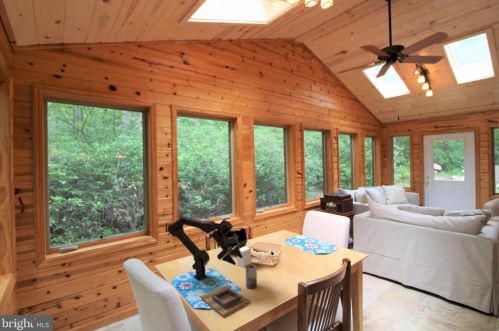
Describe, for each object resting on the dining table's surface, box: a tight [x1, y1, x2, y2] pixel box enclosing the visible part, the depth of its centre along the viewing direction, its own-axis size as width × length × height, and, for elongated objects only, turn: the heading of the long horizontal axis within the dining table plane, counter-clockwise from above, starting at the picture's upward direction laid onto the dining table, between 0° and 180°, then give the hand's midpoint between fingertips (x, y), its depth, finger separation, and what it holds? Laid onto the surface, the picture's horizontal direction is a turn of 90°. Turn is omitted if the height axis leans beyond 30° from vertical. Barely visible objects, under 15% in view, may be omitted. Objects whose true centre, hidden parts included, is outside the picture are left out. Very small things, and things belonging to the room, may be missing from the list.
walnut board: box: [199, 284, 251, 318], centre depth 123 cm, size 20×16×3 cm
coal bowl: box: [223, 227, 248, 254], centre depth 187 cm, size 20×20×19 cm
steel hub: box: [245, 263, 258, 290], centre depth 137 cm, size 6×6×11 cm
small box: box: [236, 246, 252, 268], centre depth 165 cm, size 8×6×10 cm
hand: (238, 261), depth 139 cm, fingers open, 9 cm apart
